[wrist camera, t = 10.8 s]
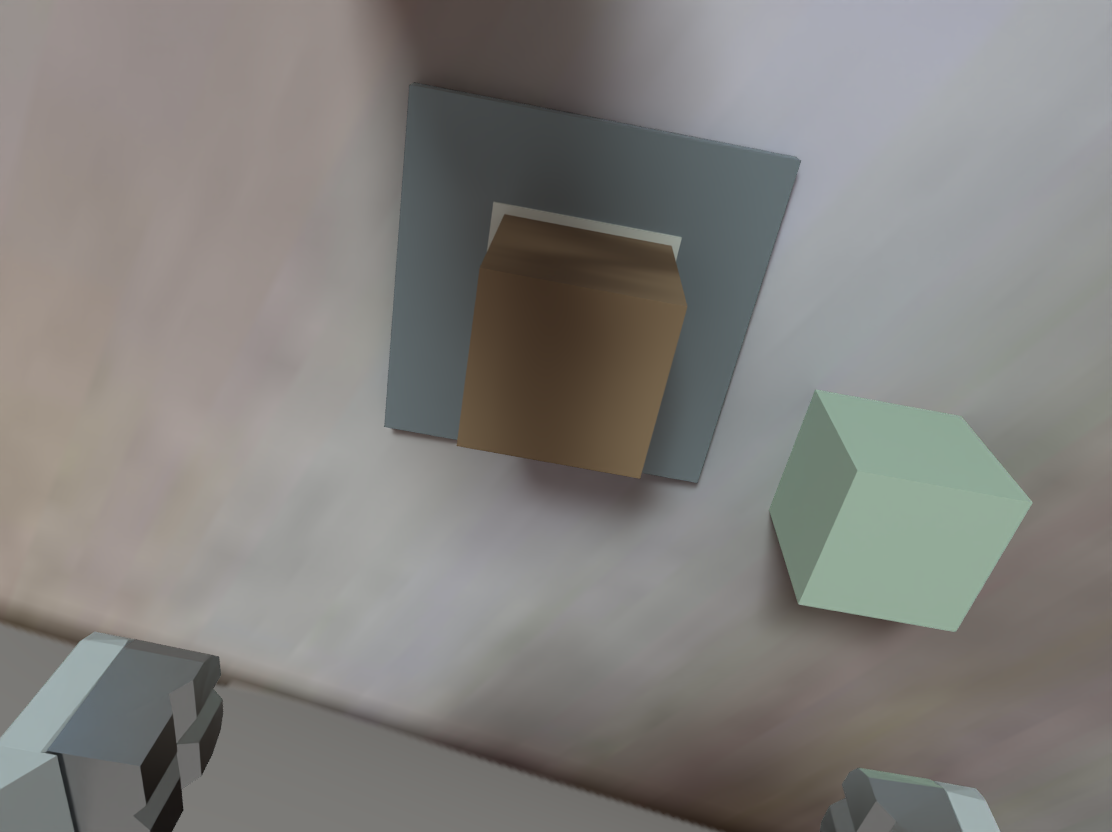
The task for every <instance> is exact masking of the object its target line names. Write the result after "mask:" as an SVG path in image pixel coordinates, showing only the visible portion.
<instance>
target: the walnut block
mask: <svg viewBox="0 0 1112 832" xmlns="http://www.w3.org/2000/svg"><path fill="white" fill-rule="evenodd" d="M686 310H687V303H686V299H685V295H684V291H683V287H682V284H681V280H680V276H679V272H678V268H677V264H676V260H675V257H674V253H673V249H672V246H670V245H665V244H660V243H654V242H649V241H644V240H639V239H633V238H628V237H623V236H617V235H612V234H607V233H602V232H596V231H591V230H586V229H581V228H575V227H570V226H565V225H559V224H554V223H549V222H544V221H538V220H533V219H528V218H522V217H517V216H512V215H507V214H504V216H503V218H502V220H501V223H500V225H499V227H498V229H497V231H496V233H495V236H494V238H493V240H492V242H491V244H490V246H489V249H488V251H487V253H486V255H485V257H484V259H483V262H482V264H481V266H480V269H479V277H478V284H477V292H476V300H475V308H474V315H473V323H472V331H471V338H470V346H469V354H468V362H467V369H466V377H465V385H464V393H463V400H462V408H461V416H460V424H459V431H458V439H457V446H460V447H466V448H471V449H477V450H482V451H488V452H494V453H499V454H505V455H510V456H516V457H522V458H527V459H533V460H538V461H544V462H549V463H555V464H561V465H566V466H572V467H577V468H583V469H589V470H594V471H600V472H605V473H611V474H617V475H622V476H628V477H633V478H639V479H640V477H641V473H642V470H643V466H644V463H645V459H646V455H647V452H648V448H649V444H650V441H651V437H652V434H653V430H654V426H655V423H656V419H657V415H658V412H659V408H660V405H661V401H662V397H663V394H664V390H665V386H666V383H667V379H668V376H669V372H670V368H671V365H672V361H673V357H674V354H675V350H676V347H677V343H678V339H679V336H680V332H681V328H682V325H683V321H684V317H685V314H686Z"/></svg>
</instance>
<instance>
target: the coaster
mask: <svg viewBox="0 0 1112 832" xmlns="http://www.w3.org/2000/svg"><path fill="white" fill-rule="evenodd" d="M800 162H801V160H799V159H798V158H797V157H795V156H790V155H785V154H779V153H774V152H769V151H764V150H759V149H754V148H749V147H743V146H738V145H733V144H728V143H723V142H718V141H713V140H707V139H702V138H697V137H692V136H687V135H682V134H677V133H672V132H666V131H661V130H656V129H651V128H646V127H641V126H636V125H630V124H625V123H620V122H615V121H610V120H605V119H600V118H594V117H589V116H584V115H579V114H574V113H569V112H564V111H558V110H553V109H548V108H543V107H538V106H533V105H528V104H522V103H517V102H512V101H507V100H502V99H497V98H492V97H487V96H481V95H476V94H471V93H466V92H461V91H456V90H451V89H445V88H440V87H435V86H430V85H425V84H420V83H415V82H414V83H412V84H410V85H409V97H408V111H407V125H406V138H405V152H404V166H403V179H402V193H401V207H400V220H399V234H398V248H397V261H396V275H395V289H394V302H393V316H392V329H391V343H390V357H389V370H388V384H387V398H386V411H385V425H384V427H388V428H394V429H399V430H405V431H410V432H416V433H421V434H427V435H433V436H438V437H444V438H449V439H455V440H457V439H458V431H459V424H460V416H461V408H462V400H463V393H464V385H465V377H466V369H467V362H468V354H469V346H470V338H471V331H472V323H473V315H474V308H475V300H476V292H477V284H478V277H479V269H480V266H481V264H482V262H483V259H484V257H485V255H486V253H487V251H488V249H489V246H490V244H491V242H492V240H493V238H494V236H495V233H496V231H497V229H498V227H499V225H500V223H501V220H502V218H503V216H504V214H507V215H512V216H517V217H522V218H528V219H533V220H538V221H544V222H549V223H554V224H559V225H565V226H570V227H575V228H581V229H586V230H591V231H596V232H602V233H607V234H612V235H617V236H623V237H628V238H633V239H639V240H644V241H649V242H654V243H660V244H665V245H670V246H672V249H673V253H674V257H675V260H676V264H677V268H678V272H679V276H680V280H681V284H682V287H683V291H684V295H685V299H686V303H687V310H686V314H685V317H684V321H683V325H682V328H681V332H680V336H679V339H678V343H677V347H676V350H675V354H674V357H673V361H672V365H671V368H670V372H669V376H668V379H667V383H666V386H665V390H664V394H663V397H662V401H661V405H660V408H659V412H658V415H657V419H656V423H655V426H654V430H653V434H652V437H651V441H650V444H649V448H648V452H647V455H646V459H645V463H644V466H643V470H642V473H645V474H651V475H656V476H662V477H667V478H673V479H678V480H684V481H690V482H695V483H698V480H699V477H700V473H701V470H702V467H703V464H704V461H705V458H706V455H707V452H708V449H709V445H710V442H711V439H712V436H713V433H714V430H715V427H716V424H717V421H718V417H719V414H720V411H721V408H722V405H723V402H724V399H725V396H726V393H727V389H728V386H729V383H730V380H731V377H732V374H733V371H734V368H735V365H736V361H737V358H738V355H739V352H740V349H741V346H742V343H743V340H744V337H745V333H746V330H747V327H748V324H749V321H750V318H751V315H752V312H753V309H754V305H755V302H756V299H757V296H758V293H759V290H760V287H761V284H762V281H763V277H764V274H765V271H766V268H767V265H768V262H769V259H770V256H771V253H772V249H773V246H774V243H775V240H776V237H777V234H778V231H779V228H780V225H781V221H782V218H783V215H784V212H785V209H786V206H787V203H788V200H789V197H790V193H791V190H792V187H793V184H794V181H795V178H796V175H797V172H798V169H799V165H800Z"/></svg>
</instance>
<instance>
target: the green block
mask: <svg viewBox="0 0 1112 832" xmlns="http://www.w3.org/2000/svg"><path fill="white" fill-rule="evenodd" d="M1032 503H1033V502H1032V501H1031V500H1030V499H1029V498H1028V496H1027V495H1026V494H1025V493H1024V492H1023V490H1022V489H1021V488H1020V487H1019V486H1018V484H1017V483H1016V482H1015V481H1014V480H1013V478H1012V477H1011V476H1010V475H1009V474H1008V472H1007V471H1006V470H1005V469H1004V467H1003V466H1002V465H1001V464H1000V463H999V461H998V460H997V459H996V458H995V457H994V455H993V454H992V453H991V452H990V451H989V449H988V448H987V447H986V446H985V445H984V443H983V442H982V441H981V440H980V439H979V437H978V436H977V435H976V434H975V432H974V431H973V430H972V429H971V428H970V426H969V425H968V424H967V423H966V422H965V420H964V419H963V418H962V417H961V416H957V415H952V414H946V413H941V412H935V411H930V410H924V409H919V408H913V407H908V406H902V405H897V404H892V403H886V402H881V401H875V400H870V399H864V398H859V397H853V396H848V395H842V394H837V393H832V392H826V391H821V390H815V392H814V394H813V397H812V400H811V402H810V405H809V407H808V410H807V413H806V415H805V418H804V420H803V423H802V426H801V428H800V431H799V433H798V436H797V439H796V441H795V444H794V446H793V449H792V452H791V454H790V457H789V459H788V462H787V465H786V467H785V470H784V472H783V475H782V478H781V480H780V483H779V485H778V488H777V491H776V493H775V496H774V498H773V501H772V504H771V506H770V509H769V511H770V514H771V518H772V521H773V524H774V527H775V531H776V534H777V537H778V540H779V543H780V547H781V550H782V553H783V556H784V560H785V563H786V566H787V569H788V573H789V576H790V579H791V582H792V586H793V589H794V592H795V595H796V598H797V602H798V604H799V605H805V606H810V607H816V608H822V609H827V610H833V611H839V612H845V613H850V614H856V615H862V616H867V617H873V618H879V619H885V620H890V621H896V622H902V623H907V624H913V625H919V626H925V627H930V628H936V629H942V630H947V631H953V632H956V631H957V629H958V627H959V626H960V624H961V622H962V621H963V619H964V617H965V615H966V614H967V612H968V610H969V609H970V607H971V605H972V604H973V602H974V600H975V599H976V597H977V595H978V594H979V592H980V590H981V589H982V587H983V585H984V584H985V582H986V580H987V579H988V577H989V575H990V573H991V572H992V570H993V568H994V567H995V565H996V563H997V562H998V560H999V558H1000V557H1001V555H1002V553H1003V552H1004V550H1005V548H1006V547H1007V545H1008V543H1009V542H1010V540H1011V538H1012V536H1013V535H1014V533H1015V531H1016V530H1017V528H1018V526H1019V525H1020V523H1021V521H1022V520H1023V518H1024V516H1025V515H1026V513H1027V511H1028V510H1029V508H1030V506H1031V505H1032Z"/></svg>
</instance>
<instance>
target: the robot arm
mask: <svg viewBox="0 0 1112 832" xmlns="http://www.w3.org/2000/svg"><path fill="white" fill-rule="evenodd" d="M220 676H221V669H220V661H219V656H214V655H210V654H205V653H200V652H195V651H190V650H186V649H181V648H176V647H171V646H166V645H161V644H156V643H151V642H147V641H142V640H137V639H131V638H126V637H121V636H115V635H110V634H105V633H99V632H94V633H92V634H90V635H89V636H87V637H86V638H84V639H83V640H81V641H80V642H79V643H78V644H77V646H76V647H75V648H74V649H73V651H72V652H71V653H70V654H69V655H68V657H67V658H66V659H65V660H64V661H63V663H62V664H61V665H60V666H59V668H58V669H57V670H56V671H55V672H54V674H53V675H52V676H51V677H50V678H49V680H48V681H47V682H46V683H45V684H44V686H43V687H42V688H41V689H40V691H39V692H38V693H37V694H36V695H35V697H34V698H33V699H32V700H31V701H30V703H29V704H28V705H27V706H26V707H25V709H24V710H23V711H22V712H21V713H20V715H19V716H18V717H17V718H16V720H15V721H14V722H13V723H12V724H11V726H10V727H9V728H8V729H7V731H6V732H5V733H4V734H3V735H2V736H1V738H0V832H172V831H173V829H174V827H175V825H176V823H177V821H178V820H179V818H180V816H181V813H182V812H183V800H182V789H183V788H184V787H186V786H188V785H189V784H190V783H192V782H193V781H195V780H196V779H198V778H199V777H201V776H202V774H203V772H204V770H205V768H206V766H207V764H208V762H209V760H210V758H211V756H212V754H213V751H214V748H215V745H216V742H217V739H218V736H219V733H220V730H221V724H222V717H223V700H222V698H221V697H220V696H219V695H218V694H217V692H216V691H215V690H214V689H213V688H214V687H215V685H216V683H217V681H218V680H219V678H220ZM842 786H843V790H844V793H845V797H846V798H844V799H842V800H840V801H838V802H836V803H834V804H832V805H830V806H829V808H828V810H827V812H826V814H825V816H824V818H823V820H822V822H821V827H820V832H1000V830H999V828H998V826H997V824H996V822H995V819H994V817H993V815H992V813H991V811H990V809H989V807H988V804H987V802H986V800H985V798H984V797H983V796H982V795H981V794H980V793H979V792H978V790H977V789H976V788H971V787H966V786H960V785H954V784H948V783H943V782H937V781H932V780H930V779H925V778H919V777H912V776H906V775H900V774H894V773H888V772H882V771H875V770H869V769H863V768H857V769H855V770H853V771H851V772H849V774H848V775H847V777H846V779H845V780H844V782H843V784H842Z"/></svg>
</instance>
